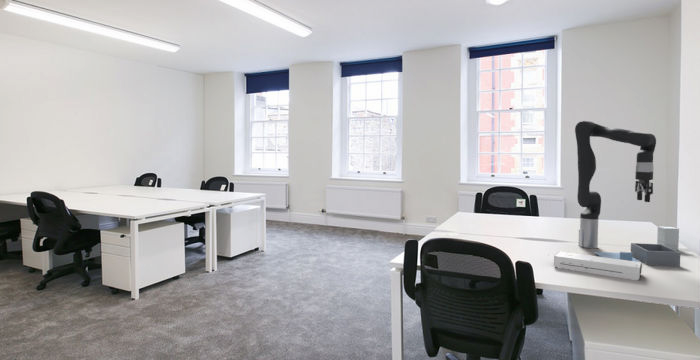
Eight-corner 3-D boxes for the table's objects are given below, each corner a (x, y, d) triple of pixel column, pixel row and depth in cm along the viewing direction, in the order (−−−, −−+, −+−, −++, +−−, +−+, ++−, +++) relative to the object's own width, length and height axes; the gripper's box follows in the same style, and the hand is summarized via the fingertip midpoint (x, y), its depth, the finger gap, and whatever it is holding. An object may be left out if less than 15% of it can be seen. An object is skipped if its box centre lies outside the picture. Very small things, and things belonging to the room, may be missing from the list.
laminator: (554, 268, 190) (554, 255, 189) (559, 262, 199) (559, 250, 199) (640, 281, 168) (640, 267, 168) (641, 274, 178) (641, 261, 177)
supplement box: (678, 250, 219) (679, 228, 218) (663, 250, 221) (664, 228, 220) (670, 247, 226) (671, 226, 225) (656, 247, 228) (657, 226, 227)
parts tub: (646, 264, 192) (647, 251, 191) (630, 255, 209) (631, 243, 209) (679, 266, 188) (680, 252, 188) (660, 257, 206) (661, 244, 205)
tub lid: (609, 265, 193) (610, 252, 193) (594, 254, 213) (595, 242, 213) (643, 267, 189) (644, 253, 189) (625, 256, 210) (625, 244, 209)
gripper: (630, 170, 213) (629, 199, 214) (642, 171, 199) (641, 202, 200) (646, 170, 211) (645, 199, 212) (659, 171, 197) (658, 202, 198)
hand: (643, 201), depth 206 cm, fingers open, 8 cm apart
